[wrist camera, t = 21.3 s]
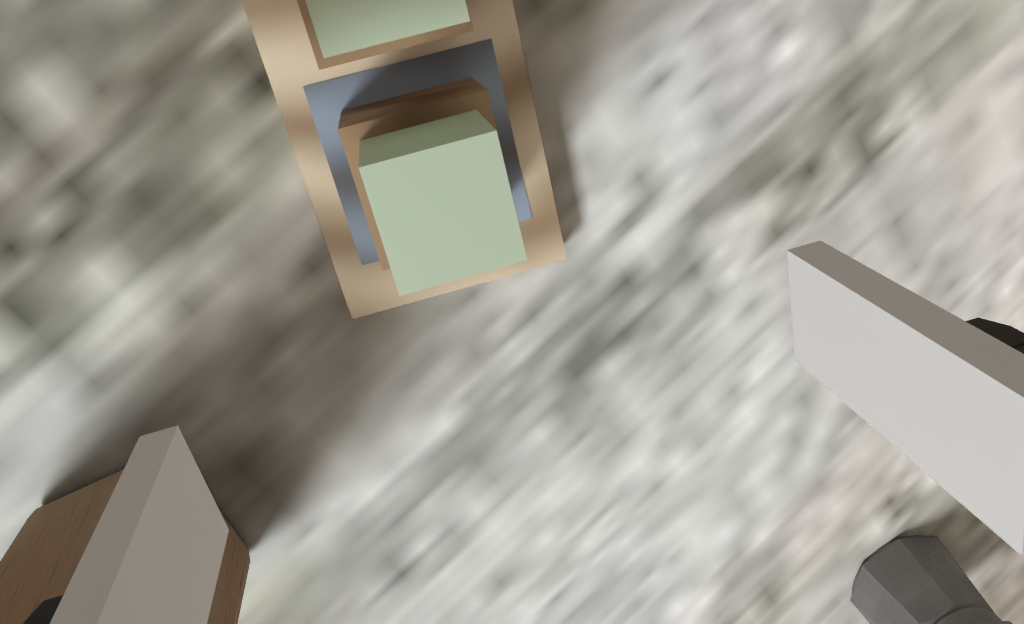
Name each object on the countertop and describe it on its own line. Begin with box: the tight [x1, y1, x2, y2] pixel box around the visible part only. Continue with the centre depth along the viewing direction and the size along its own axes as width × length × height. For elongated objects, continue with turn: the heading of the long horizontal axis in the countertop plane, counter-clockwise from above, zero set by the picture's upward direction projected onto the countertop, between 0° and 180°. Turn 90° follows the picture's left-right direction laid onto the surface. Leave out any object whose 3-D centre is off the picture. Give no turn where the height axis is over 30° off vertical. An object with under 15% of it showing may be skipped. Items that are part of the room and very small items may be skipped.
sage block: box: [359, 110, 527, 296], centre depth 34 cm, size 6×6×6 cm
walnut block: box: [338, 77, 519, 270], centre depth 39 cm, size 7×7×6 cm
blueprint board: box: [242, 0, 567, 319], centre depth 41 cm, size 22×13×2 cm, turn 13°
